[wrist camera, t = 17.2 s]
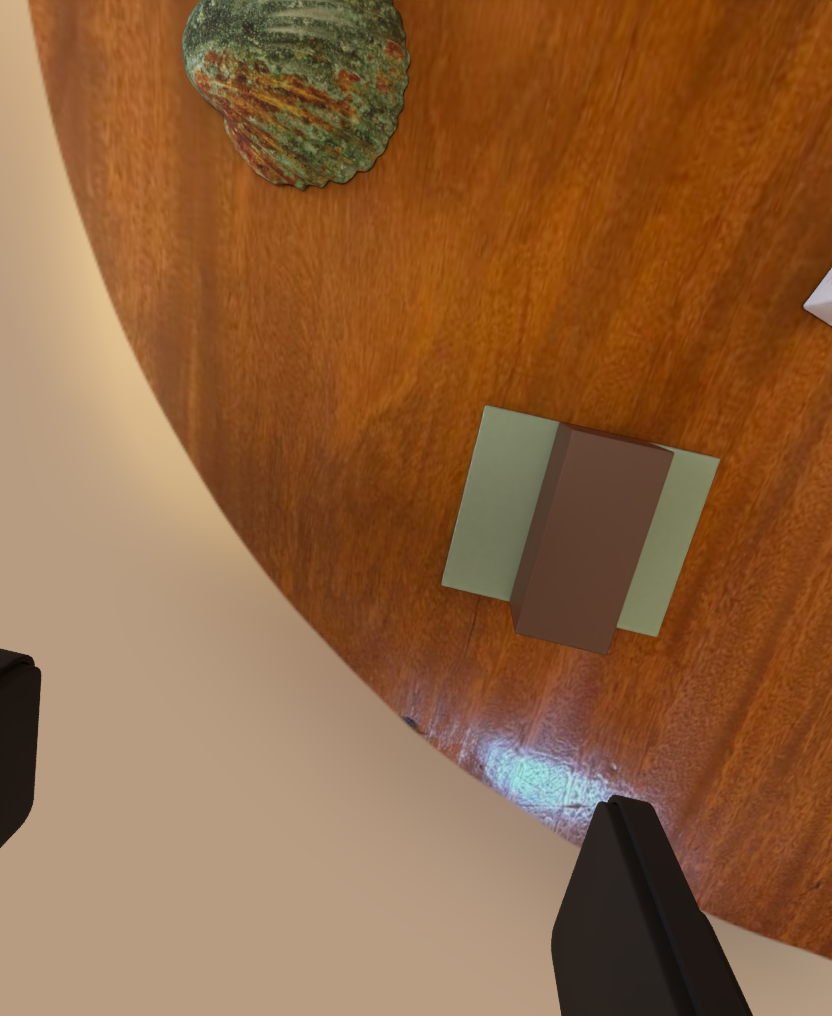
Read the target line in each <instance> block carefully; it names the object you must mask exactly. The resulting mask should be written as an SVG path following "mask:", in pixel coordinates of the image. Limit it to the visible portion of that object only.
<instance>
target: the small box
mask: <svg viewBox="0 0 832 1016" xmlns="http://www.w3.org/2000/svg"><path fill="white" fill-rule="evenodd" d="M804 309H805V310H807V311H809V312H811V313H812V314H814V315H815V316H817V317H818V318H820V319H821V320H823V321H825V322H826V323H827V324H829V325H831V326H832V268H831V270H830V271H829V272H828V274H827V275H826V276H825V278H824V279H823V280H822V282H821V283H820V284H819V286H818V287H817V288H816V290H815V291H814V292H813V294H812V295H811V296H810V298H809V299H808V300H807V301H806V303H805V304H804Z"/></svg>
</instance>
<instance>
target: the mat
mask: <svg viewBox="0 0 832 1016" xmlns="http://www.w3.org/2000/svg"><path fill="white" fill-rule="evenodd" d="M559 423H560V422H559V421H555V420H551V419H546V418H542V417H538V416H533V415H529V414H524V413H520V412H516V411H511V410H507V409H503V408H498V407H494V406H489V405H485V408H484V412H483V416H482V420H481V424H480V428H479V432H478V436H477V440H476V444H475V448H474V452H473V456H472V460H471V465H470V469H469V473H468V477H467V481H466V485H465V489H464V493H463V497H462V501H461V505H460V509H459V513H458V517H457V521H456V525H455V529H454V533H453V538H452V542H451V546H450V550H449V554H448V558H447V562H446V566H445V570H444V574H443V578H442V586H446V587H450V588H455V589H459V590H463V591H467V592H471V593H475V594H480V595H484V596H488V597H492V598H496V599H500V600H504V601H509V600H510V596H511V593H512V589H513V586H514V582H515V578H516V575H517V571H518V568H519V564H520V561H521V557H522V554H523V550H524V546H525V543H526V539H527V536H528V532H529V529H530V525H531V522H532V518H533V514H534V511H535V507H536V504H537V500H538V497H539V493H540V489H541V486H542V482H543V479H544V475H545V472H546V468H547V465H548V461H549V457H550V454H551V450H552V447H553V443H554V440H555V436H556V432H557V429H558V425H559ZM649 443H651V442H649ZM652 444H655V445H657V446H660V447H662V448H665V449H667V450H670V451H673V452H674V457H673V460H672V463H671V466H670V469H669V472H668V474H667V477H666V480H665V483H664V486H663V489H662V492H661V495H660V498H659V501H658V504H657V507H656V510H655V513H654V516H653V519H652V522H651V525H650V528H649V531H648V534H647V537H646V540H645V543H644V546H643V549H642V552H641V555H640V558H639V561H638V564H637V567H636V570H635V573H634V576H633V579H632V582H631V585H630V588H629V591H628V594H627V597H626V600H625V603H624V606H623V609H622V611H621V614H620V617H619V620H618V623H617V626H616V627H617V628H621V629H625V630H629V631H633V632H637V633H642V634H646V635H650V636H654V637H657V635H658V632H659V630H660V627H661V624H662V621H663V618H664V616H665V613H666V610H667V607H668V604H669V602H670V599H671V596H672V593H673V590H674V588H675V585H676V582H677V579H678V576H679V574H680V571H681V568H682V565H683V562H684V560H685V557H686V554H687V551H688V548H689V546H690V543H691V540H692V537H693V534H694V532H695V529H696V526H697V523H698V520H699V518H700V515H701V512H702V509H703V506H704V504H705V501H706V498H707V495H708V492H709V490H710V487H711V484H712V481H713V478H714V476H715V473H716V470H717V467H718V464H719V462H720V459H719V458H716V457H713V456H708V455H704V454H700V453H695V452H691V451H686V450H682V449H678V448H673V447H669V446H665V445H660V444H656V443H652Z"/></svg>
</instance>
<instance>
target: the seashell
mask: <svg viewBox="0 0 832 1016" xmlns="http://www.w3.org/2000/svg"><path fill="white" fill-rule="evenodd" d="M405 41H406V33H405V31H404V29H403V26H402V18H401V15H400V13H399V12H398V10H397V9H396V8H394V7H393V0H201V1H200V2H199V3H198V4H197V5H196V7H195V8H194V9H193V10H192V12H191V14H190V16H189V18H188V21H187V24H186V27H185V31H184V34H183V41H182V55H183V63H184V67H185V71H186V73H187V76H188V78H189V80H190V81H191V83H192V85H193V86H194V87H195V89H196V90H197V91H198V92H199V94H200V95H201V96H202V97H203V98H204V99H205V100H206V101H208V102H209V103H210V104H211V105H212V106H213V107H215V108H216V109H217V110H218V111H220V112H221V113H222V114H223V116H224V118H225V119H224V130H225V131H226V133H227V134H228V135H229V136H230V138H231V140H232V142H233V144H234V146H235V148H236V150H237V151H238V152H239V153H240V155H241V156H242V157H243V158H244V159H245V161H246V162H247V164H248V165H249V166H250V167H251V168H252V169H253V170H254V171H255V172H256V173H257V174H259V175H260V176H262V177H263V178H265V179H267V180H268V181H270V182H272V183H273V184H275V185H282V184H292V185H294V186H295V187H297V188H299V189H300V190H304V189H305V188H306V186H307V185H311V184H312V185H315V186H318V187H321V188H322V187H323V186H324V185H325V184H326V183H327V181H328V180H332V181H334V182H337V183H345V182H347V181H348V180H349V179H351V178H352V177H353V176H354V174H355V173H356V172H357V171H364V172H365V171H367V170H369V169H370V168H371V167H372V166H373V165H374V162H375V160H376V159H377V157H378V156H379V155H380V154H382V153H383V152H384V150H385V148H386V146H387V144H388V141H389V138H390V137H391V135H392V134H393V133H394V132H395V130H396V128H397V126H398V118H397V115H398V114H399V113H400V111H401V110H402V108H403V102H404V97H403V92H404V90H405V88H406V86H407V84H408V80H409V77H408V75H407V74H406V70H407V68H408V66H409V64H410V55H409V52H408V51H407V49H406V47H405Z"/></svg>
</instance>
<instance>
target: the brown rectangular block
mask: <svg viewBox="0 0 832 1016" xmlns="http://www.w3.org/2000/svg"><path fill="white" fill-rule="evenodd" d="M673 457H674V452H673V451H670V450H667V449H665V448H662V447H660V446H657V445H655V444H652V443H649V442H647V441H643V440H638V439H634V438H630V437H625V436H621V435H617V434H612V433H608V432H603V431H599V430H595V429H590V428H586V427H582V426H577V425H573V424H568V423H564V422H560V423H559V425H558V429H557V432H556V436H555V440H554V443H553V447H552V450H551V454H550V457H549V461H548V465H547V468H546V472H545V475H544V479H543V482H542V486H541V489H540V493H539V497H538V500H537V504H536V507H535V511H534V514H533V518H532V522H531V525H530V529H529V532H528V536H527V539H526V543H525V546H524V550H523V554H522V557H521V561H520V564H519V568H518V571H517V575H516V578H515V582H514V586H513V589H512V593H511V596H510V600H509V602H510V607H511V613H512V619H513V624H514V630H515V633H516V634H520V635H524V636H528V637H532V638H537V639H541V640H545V641H549V642H553V643H557V644H561V645H565V646H570V647H574V648H578V649H582V650H586V651H590V652H594V653H598V654H603V655H607V653H608V650H609V647H610V644H611V641H612V638H613V635H614V632H615V629H616V626H617V623H618V620H619V617H620V614H621V611H622V609H623V606H624V603H625V600H626V597H627V594H628V591H629V588H630V585H631V582H632V579H633V576H634V573H635V570H636V567H637V564H638V561H639V558H640V555H641V552H642V549H643V546H644V543H645V540H646V537H647V534H648V531H649V528H650V525H651V522H652V519H653V516H654V513H655V510H656V507H657V504H658V501H659V498H660V495H661V492H662V489H663V486H664V483H665V480H666V477H667V474H668V472H669V469H670V466H671V463H672V460H673Z"/></svg>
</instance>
